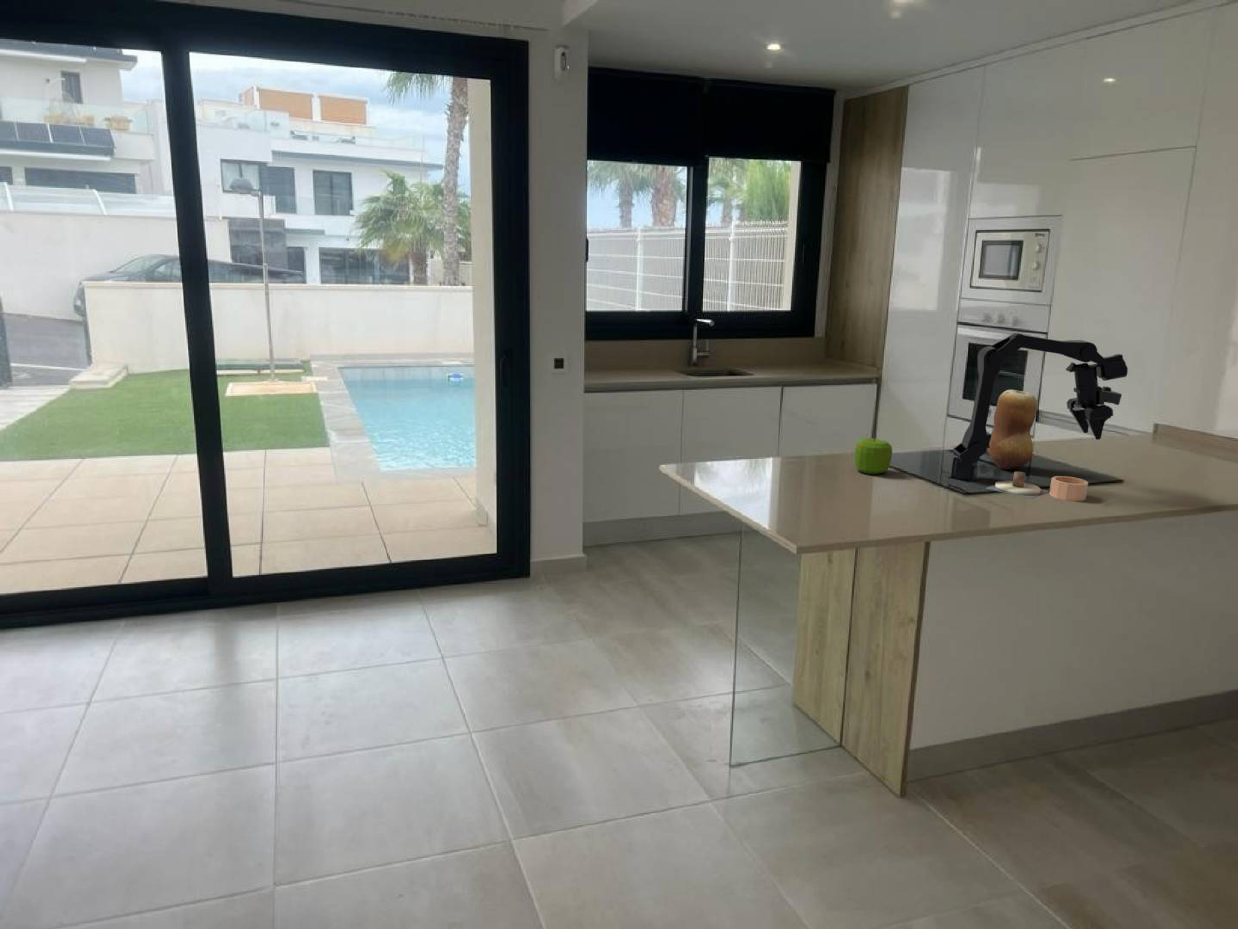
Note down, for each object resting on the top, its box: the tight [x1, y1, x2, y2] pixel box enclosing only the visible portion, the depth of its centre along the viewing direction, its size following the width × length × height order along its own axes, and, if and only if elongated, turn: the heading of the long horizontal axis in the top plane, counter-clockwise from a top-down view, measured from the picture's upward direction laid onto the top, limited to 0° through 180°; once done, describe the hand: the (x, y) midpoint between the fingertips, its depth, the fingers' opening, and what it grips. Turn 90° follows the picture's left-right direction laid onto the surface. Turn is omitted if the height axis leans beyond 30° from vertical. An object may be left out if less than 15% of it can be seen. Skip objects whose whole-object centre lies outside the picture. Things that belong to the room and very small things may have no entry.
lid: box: [994, 471, 1042, 495], centre depth 255 cm, size 12×12×5 cm
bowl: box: [1048, 475, 1089, 502], centre depth 250 cm, size 9×9×5 cm
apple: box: [853, 437, 893, 475], centre depth 271 cm, size 11×11×11 cm
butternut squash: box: [986, 389, 1038, 471], centre depth 279 cm, size 14×13×25 cm
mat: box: [985, 484, 1050, 499], centre depth 256 cm, size 13×13×1 cm
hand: (1092, 436), depth 259 cm, fingers open, 9 cm apart
